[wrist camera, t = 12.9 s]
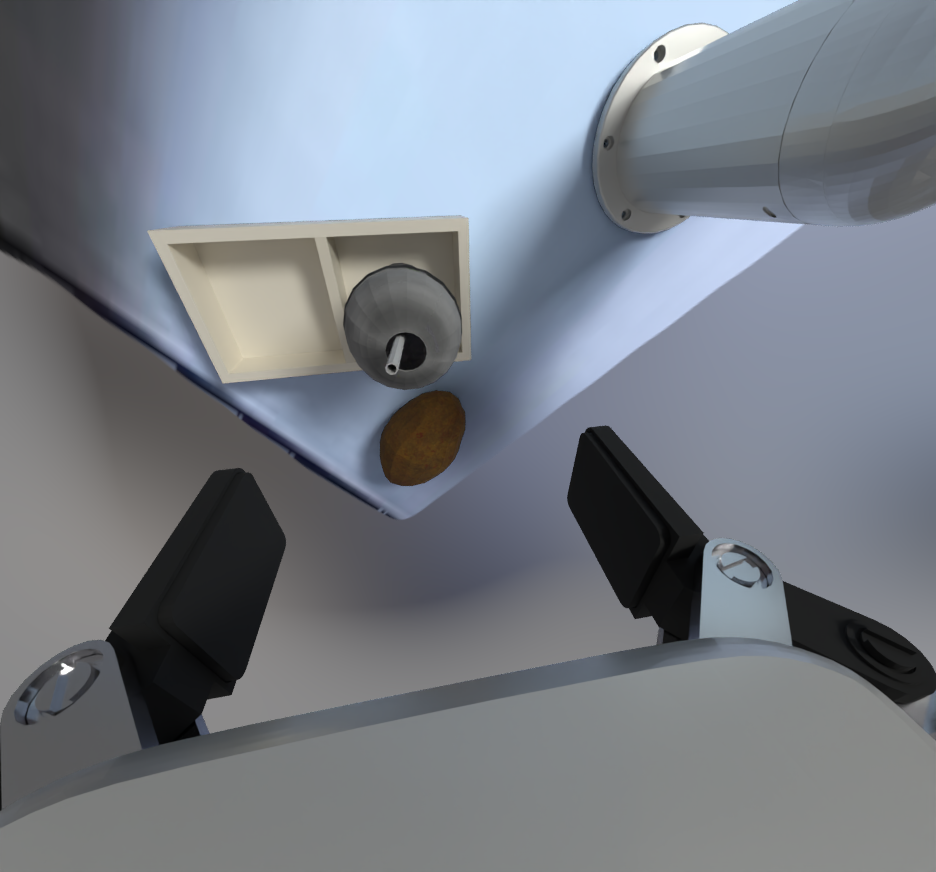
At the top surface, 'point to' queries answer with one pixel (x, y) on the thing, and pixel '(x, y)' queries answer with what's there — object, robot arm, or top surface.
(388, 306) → the beverage cup
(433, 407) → the potato
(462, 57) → the top surface
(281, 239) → the cup carrier
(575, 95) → the top surface
